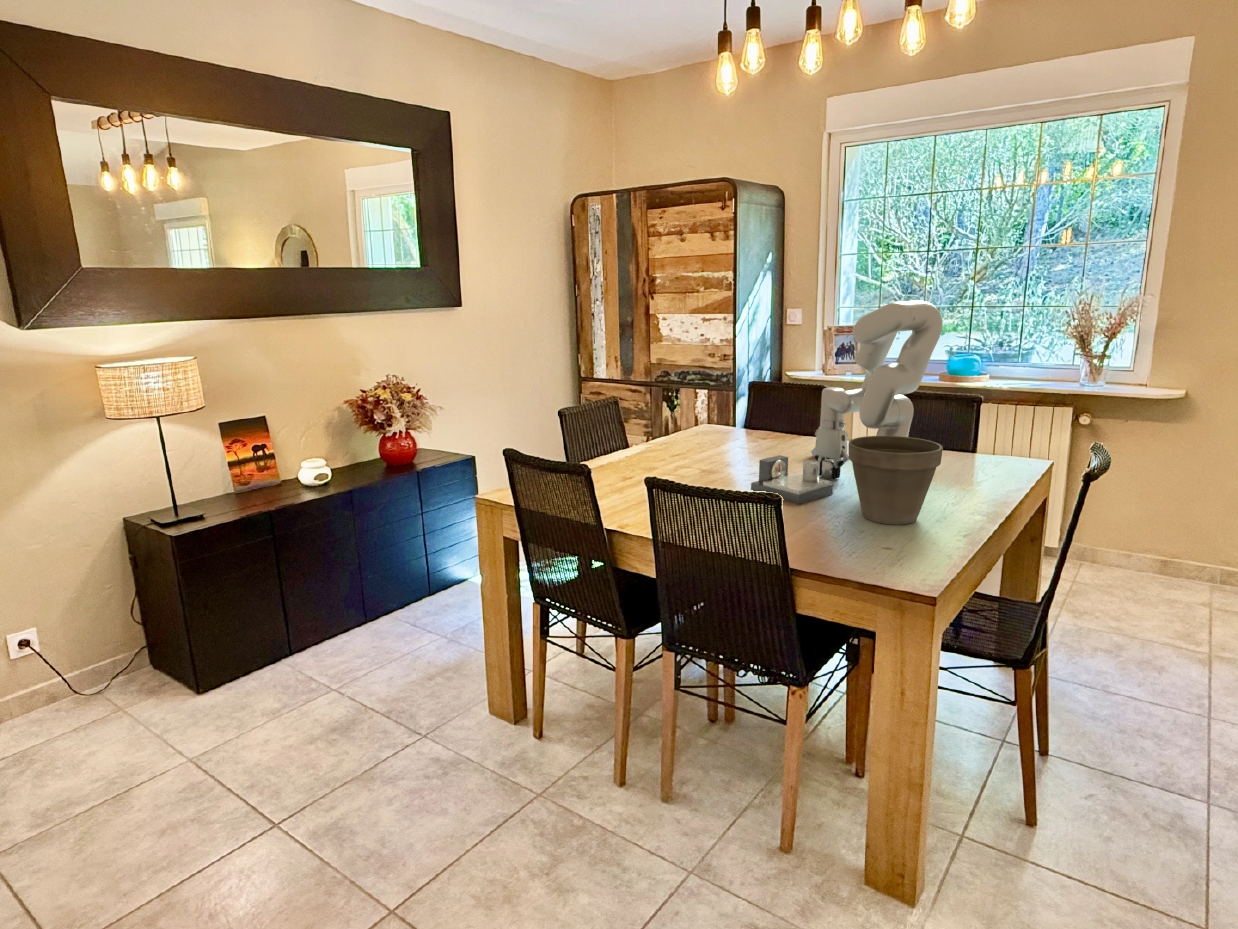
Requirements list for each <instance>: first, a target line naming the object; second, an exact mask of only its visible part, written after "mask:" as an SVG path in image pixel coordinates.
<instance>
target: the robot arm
mask: <svg viewBox="0 0 1238 929" xmlns="http://www.w3.org/2000/svg"><path fill="white" fill-rule="evenodd" d="M907 331H911V332H912V333H911V334H910V335H909V337H908V338H907V339H906V340H905V342H904V343H903V344H902V347H901V349H900V352H899V355H898V357H897V359H896V360H895V362H894V363H887V364H885V363H884V362H885V361H886V358H887V356H888V354H889V352H890V349H891V347H892V345H893V343H894V341H895V339H896V336H897V334H898V332H907ZM942 331H943V318H942V315H941V313H940V310H939V309H938V308H937V307H936V306H935V305H934V304H933V303H931V302H928V301H924V300H906V301H902V300H901V301H894V302H889V303H887V304H885V305H883V306H881V307H879V308H877V309H875V310H873V311H871V312H868V313H867V314H866V315H863V316H861V317H860V318H859V319H858V320H857V321H856V323H855V324H854V327H853V331H852V336H853V338H854V340H855V341H856V343H857V344H859V345H860V346H859V349H858V351H857V353H856V354H855V355H856V356H855V358H854V360H855V364H856V365H858V366H859V367H860V368H861V369H863V370H865V376H864V379H863V381H862V384H861V386H860V388H854V389H847V390H845V389H844V388H842V387H837V386H835V387H834V386H828V387H825V388H823V389H822V391H821V402H820V405H821V406H820V418H819V420H820V424H819V427H818V429H817V431H818V432H817V436H815V445H814V448H813V449H812V450H811V451H810V452H811V455H812V456H813V457H814V460H815V461H818V462H820V469H819V477H821V473H822V460H825V459H828V458H832V460H833V461H834V466H835V467H834V468H833V476H832V478H833V479H835V480H837V479H840V477H841V468H842V467H843V465H845V464H846V463H847V462H848V461H851V460H850V459H849V454H848V437H847V436H846V432H847V431H846V429H845V428H847V423H846V422H844V421H845V419H844V418H845V415H848V414H854V413H858V414H859V419H860V422H861V423H862V424H863V426H865V427H866V428H867V429H872V430H873V429H874V430H875V429H877V431H876V434H875V436H900V437H909V435H910V434H909V432H910V429H911V424H912V422H913V418H914V410H915V408H914V404H913V402H912V401H911V399H910V398H908V397H907V396H906V395H908V394H912V393H914V392H916V391H917V390H918V389H919V387H920V385H921V382H922V380H923V378H924V375H925V373H926V370H927V368H928V365H929V363H930V360H931V358H932V354H933V352H934V350H935V349H936V346H937V344H938V342H939V340H940V336H942V335H941V334H942ZM826 457H827V458H826ZM841 457H842V458H841Z"/></svg>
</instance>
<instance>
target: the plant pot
mask: <svg viewBox="0 0 1238 929" xmlns="http://www.w3.org/2000/svg"><path fill="white" fill-rule="evenodd" d="M943 450H944V447H943V445H942V444H940V443H937V442H935V441H932V440H929V439H928V440H927V439H924V438H918V437H911V436H908V437H900V436H876V435H867V436H862V437H861V436H860V437H855V438H853V439H850V440H849V441H848V456H849V459H850V460H849V461H851V462H852V463H851V464H852V469H853V476H854V480H855V486H856V490H857V495H858V499H859V504H860V509H861V513H862V516H863V518H865V519H867V520H869V521H871V522H874V523H877V524H883V525H893V526H894V525H899V526H901V525H909V524H912V523H914V522H916V521H917V519H918V517H919V515H920V512H921V511H922V508H923V505H924V502H925V500H926V497H927V494H928V491H929V489H930V487H931V484H932V481H933V478H934V476H935V473H936V470H937V467H939V466H940V465H941V463H942V456H943Z"/></svg>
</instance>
